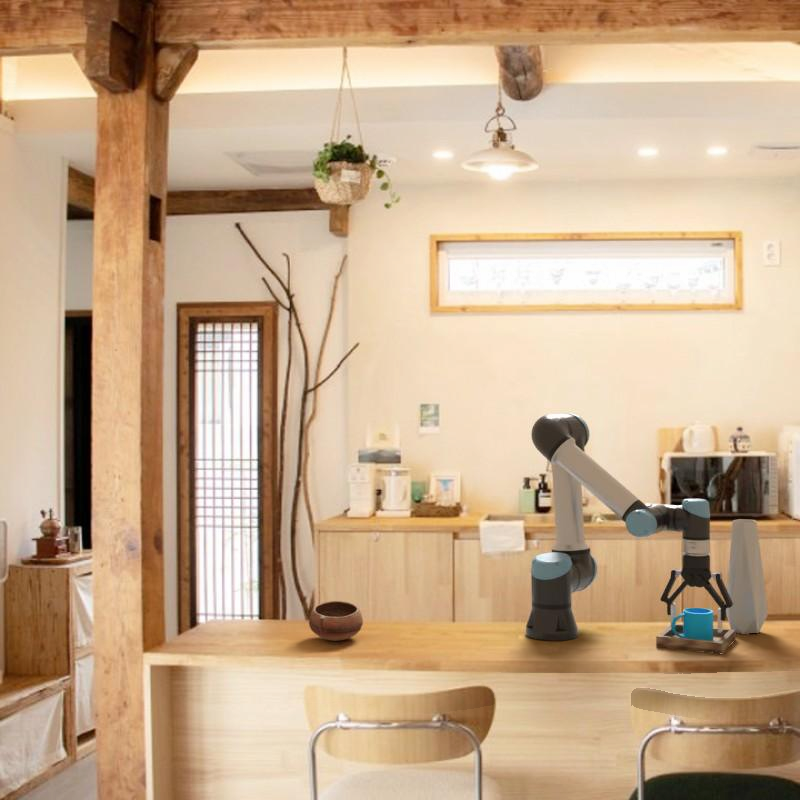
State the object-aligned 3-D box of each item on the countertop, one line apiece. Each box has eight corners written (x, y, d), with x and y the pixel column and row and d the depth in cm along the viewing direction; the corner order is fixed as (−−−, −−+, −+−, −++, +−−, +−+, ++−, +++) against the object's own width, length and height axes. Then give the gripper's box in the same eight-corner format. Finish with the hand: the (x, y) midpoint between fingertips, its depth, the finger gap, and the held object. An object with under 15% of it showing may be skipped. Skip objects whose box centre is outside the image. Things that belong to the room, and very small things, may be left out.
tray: (656, 646, 297) (656, 636, 297) (672, 633, 313) (672, 623, 313) (722, 654, 288) (722, 643, 288) (735, 640, 304) (735, 629, 304)
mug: (706, 635, 306) (706, 607, 306) (717, 642, 298) (717, 613, 297) (666, 636, 304) (665, 608, 304) (676, 643, 296) (676, 614, 296)
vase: (771, 637, 307) (771, 523, 307) (730, 636, 309) (729, 523, 308) (764, 627, 319) (763, 518, 319) (724, 626, 321) (723, 517, 320)
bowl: (312, 647, 300) (312, 612, 300) (306, 634, 315) (305, 600, 315) (367, 644, 303) (367, 609, 303) (358, 631, 318) (357, 598, 318)
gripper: (649, 552, 303) (649, 627, 303) (738, 559, 291) (738, 636, 291) (656, 548, 309) (656, 622, 310) (743, 555, 297) (743, 631, 298)
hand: (696, 629), depth 301 cm, fingers open, 12 cm apart
